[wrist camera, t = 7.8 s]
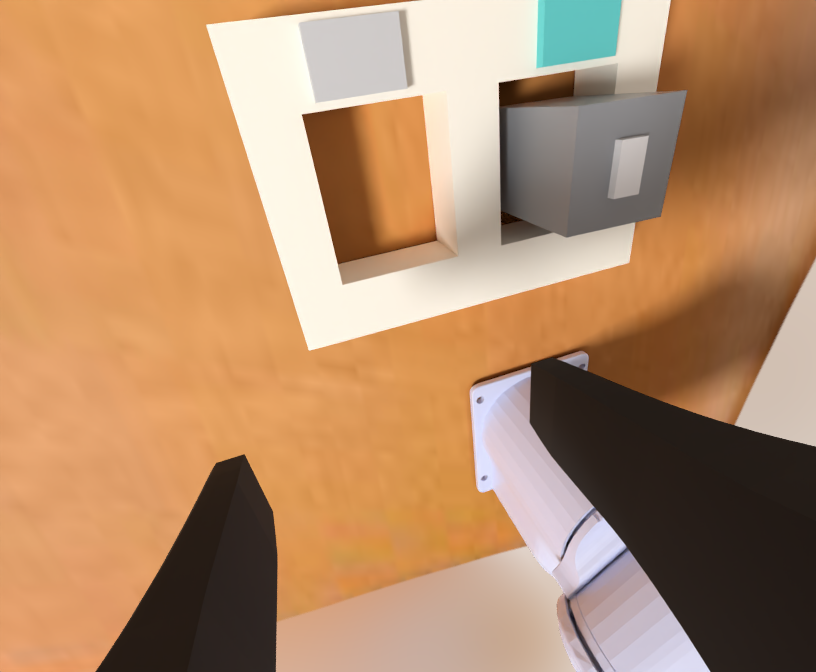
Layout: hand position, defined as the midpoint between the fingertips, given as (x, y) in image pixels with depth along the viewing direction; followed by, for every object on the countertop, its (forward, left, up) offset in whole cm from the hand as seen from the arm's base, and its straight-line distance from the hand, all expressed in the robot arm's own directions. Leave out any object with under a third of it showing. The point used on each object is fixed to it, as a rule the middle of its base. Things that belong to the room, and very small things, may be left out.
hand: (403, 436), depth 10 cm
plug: (+4, -10, -10) cm, 15 cm away
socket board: (+4, -6, -10) cm, 13 cm away
